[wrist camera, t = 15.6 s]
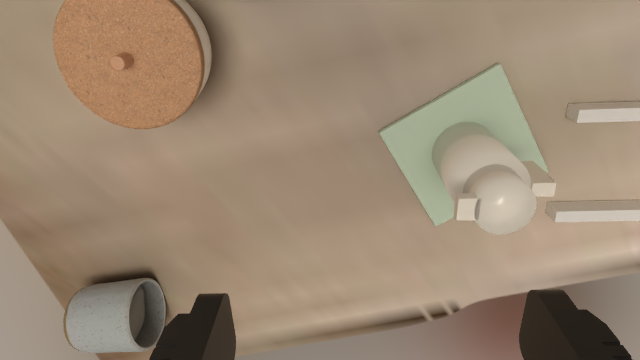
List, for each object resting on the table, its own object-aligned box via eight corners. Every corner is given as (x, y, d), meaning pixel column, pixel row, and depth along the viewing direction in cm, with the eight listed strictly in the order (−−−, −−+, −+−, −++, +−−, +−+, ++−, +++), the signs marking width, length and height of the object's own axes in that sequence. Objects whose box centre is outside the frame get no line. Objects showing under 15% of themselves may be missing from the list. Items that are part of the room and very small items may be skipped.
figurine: (425, 181, 42) (453, 244, 32) (429, 123, 40) (461, 172, 30) (510, 179, 42) (564, 242, 32) (519, 120, 39) (582, 169, 30)
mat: (497, 62, 38) (500, 63, 37) (546, 168, 42) (548, 171, 42) (378, 131, 41) (378, 133, 40) (434, 223, 45) (435, 226, 45)
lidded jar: (105, -39, 35) (33, -43, 27) (234, -5, 36) (203, 1, 28) (102, 87, 40) (40, 117, 31) (217, 115, 41) (186, 151, 32)
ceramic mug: (84, 273, 49) (43, 322, 42) (151, 263, 48) (121, 312, 42) (120, 339, 54) (89, 394, 47) (182, 331, 53) (159, 386, 46)
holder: (545, 212, 44) (554, 222, 42) (568, 103, 39) (579, 109, 37) (659, 209, 44) (673, 219, 42) (696, 99, 39) (714, 105, 37)
